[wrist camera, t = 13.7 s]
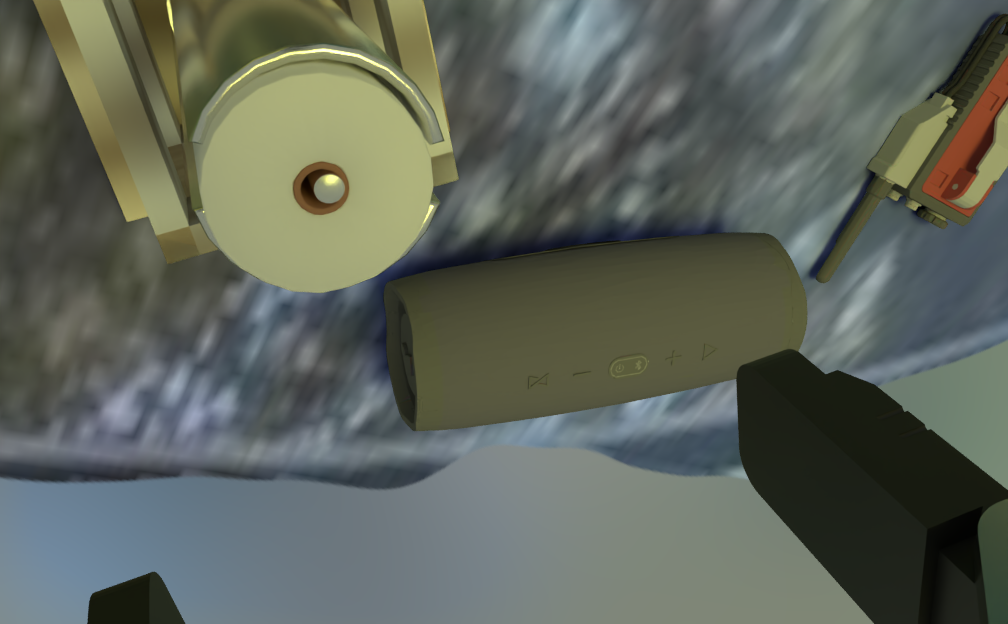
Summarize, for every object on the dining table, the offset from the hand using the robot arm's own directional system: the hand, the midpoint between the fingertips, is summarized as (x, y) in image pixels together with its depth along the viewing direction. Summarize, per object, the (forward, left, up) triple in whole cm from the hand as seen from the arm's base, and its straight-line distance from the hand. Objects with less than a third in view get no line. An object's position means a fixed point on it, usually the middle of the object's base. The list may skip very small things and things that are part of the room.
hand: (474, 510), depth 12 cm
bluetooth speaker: (+20, +14, -38) cm, 45 cm away
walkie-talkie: (+20, +40, -39) cm, 59 cm away
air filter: (0, 0, -37) cm, 37 cm away
